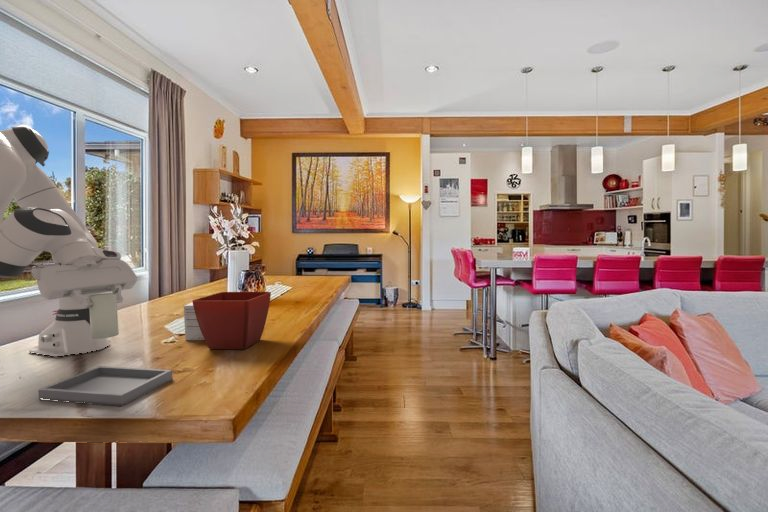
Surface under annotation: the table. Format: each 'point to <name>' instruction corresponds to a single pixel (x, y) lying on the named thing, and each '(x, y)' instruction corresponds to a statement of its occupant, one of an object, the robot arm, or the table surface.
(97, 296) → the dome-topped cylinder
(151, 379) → the grey tray
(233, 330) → the plant pot
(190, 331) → the supplement box
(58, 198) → the robot arm
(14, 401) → the table surface
